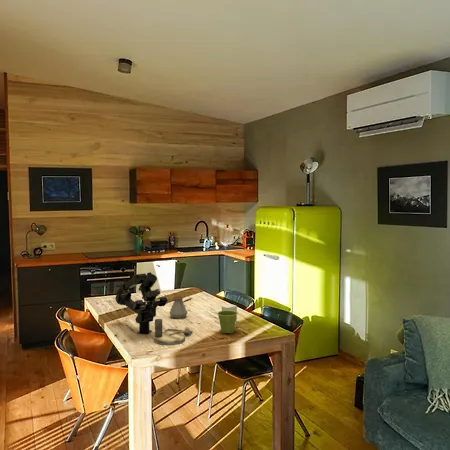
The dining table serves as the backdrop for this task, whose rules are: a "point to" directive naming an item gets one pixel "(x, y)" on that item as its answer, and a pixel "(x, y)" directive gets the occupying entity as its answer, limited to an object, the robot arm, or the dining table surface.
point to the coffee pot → (179, 308)
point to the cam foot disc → (168, 333)
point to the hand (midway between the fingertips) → (155, 316)
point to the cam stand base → (174, 342)
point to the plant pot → (227, 321)
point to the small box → (230, 308)
